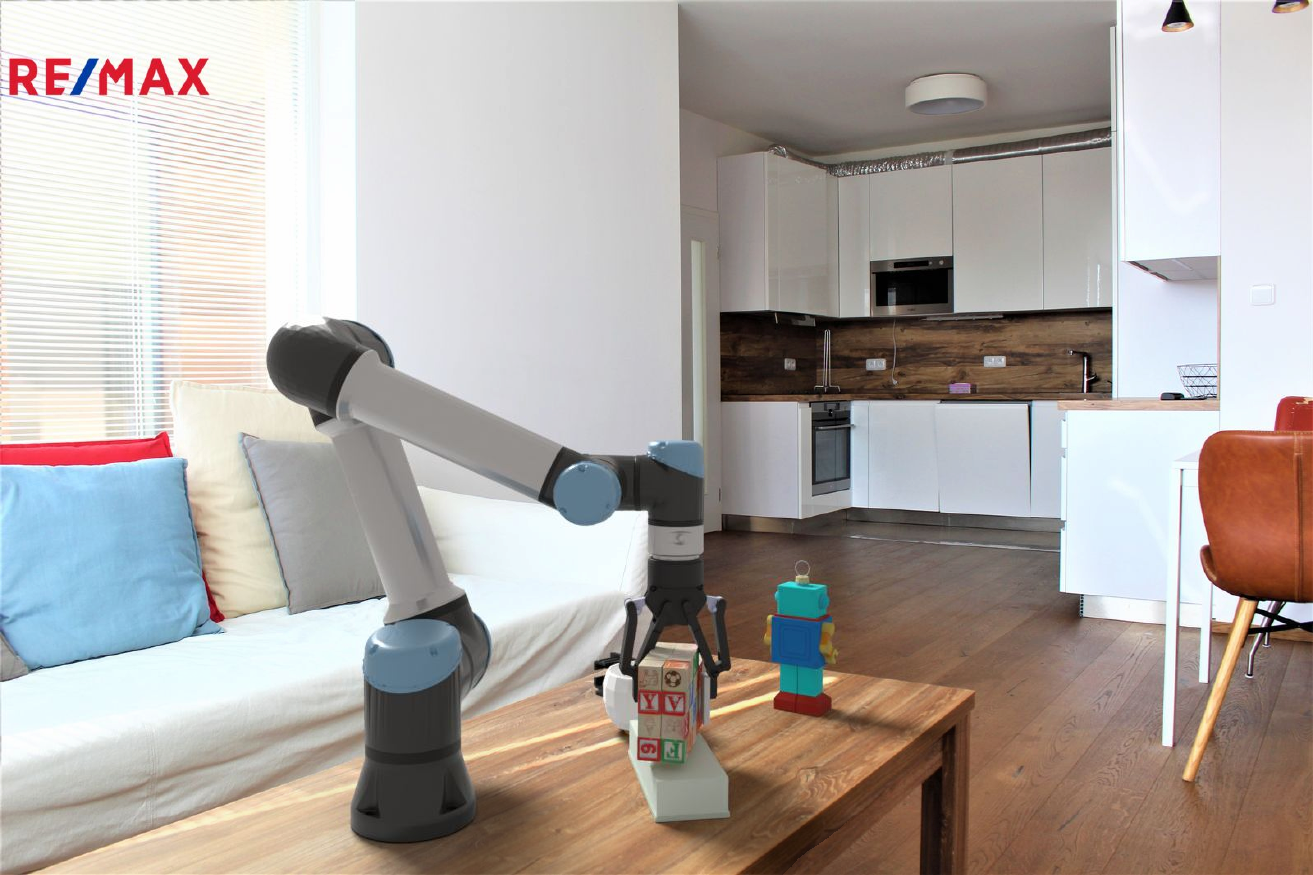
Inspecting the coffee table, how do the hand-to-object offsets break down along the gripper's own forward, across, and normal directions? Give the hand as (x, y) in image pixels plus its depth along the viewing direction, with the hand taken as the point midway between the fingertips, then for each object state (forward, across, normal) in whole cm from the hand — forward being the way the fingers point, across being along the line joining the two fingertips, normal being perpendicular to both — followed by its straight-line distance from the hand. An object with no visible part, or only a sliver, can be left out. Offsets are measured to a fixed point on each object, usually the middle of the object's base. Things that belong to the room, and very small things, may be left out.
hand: (674, 723), depth 139 cm
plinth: (+8, 0, 0) cm, 8 cm away
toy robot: (+8, +27, +29) cm, 41 cm away
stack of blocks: (+2, 0, +1) cm, 2 cm away
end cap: (+8, -1, +41) cm, 42 cm away
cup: (+8, -1, +22) cm, 24 cm away
